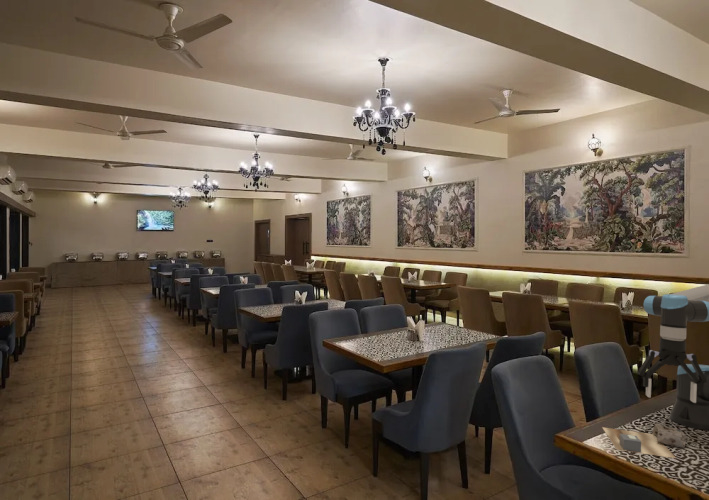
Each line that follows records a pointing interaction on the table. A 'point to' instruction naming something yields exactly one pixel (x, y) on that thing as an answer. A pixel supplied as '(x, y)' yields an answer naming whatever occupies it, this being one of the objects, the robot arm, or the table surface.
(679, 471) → the table surface
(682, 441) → the stone
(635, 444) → the block
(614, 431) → the subfloor panel
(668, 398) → the table surface
